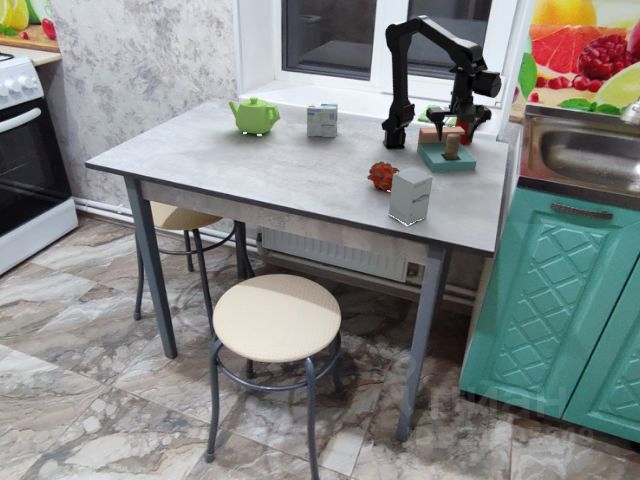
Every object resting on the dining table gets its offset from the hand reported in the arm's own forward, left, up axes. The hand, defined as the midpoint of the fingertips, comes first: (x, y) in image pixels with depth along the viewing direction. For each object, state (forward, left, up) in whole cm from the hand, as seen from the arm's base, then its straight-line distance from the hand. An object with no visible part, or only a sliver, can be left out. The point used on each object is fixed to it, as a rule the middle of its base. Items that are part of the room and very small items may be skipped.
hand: (454, 140), depth 148 cm
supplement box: (-22, -30, -9) cm, 38 cm away
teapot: (-62, +36, -9) cm, 72 cm away
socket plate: (0, +4, -9) cm, 10 cm away
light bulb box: (-38, +31, -9) cm, 50 cm away
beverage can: (+11, +18, -9) cm, 23 cm away
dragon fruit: (-24, -13, -9) cm, 29 cm away
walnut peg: (0, 0, -9) cm, 9 cm away
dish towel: (+15, +42, -9) cm, 46 cm away
